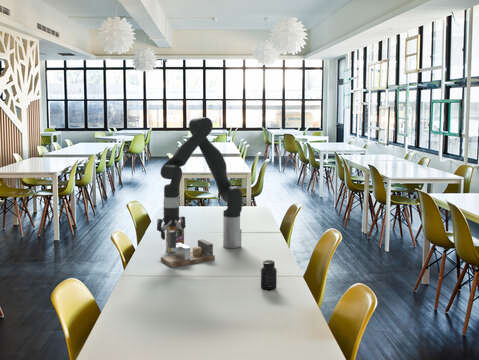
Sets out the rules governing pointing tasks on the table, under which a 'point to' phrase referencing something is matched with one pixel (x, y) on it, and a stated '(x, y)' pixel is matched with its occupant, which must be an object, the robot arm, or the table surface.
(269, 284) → the supplement bottle
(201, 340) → the table surface
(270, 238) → the table surface
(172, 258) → the board
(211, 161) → the robot arm
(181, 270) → the table surface
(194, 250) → the walnut
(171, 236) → the jaw
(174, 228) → the candy box
